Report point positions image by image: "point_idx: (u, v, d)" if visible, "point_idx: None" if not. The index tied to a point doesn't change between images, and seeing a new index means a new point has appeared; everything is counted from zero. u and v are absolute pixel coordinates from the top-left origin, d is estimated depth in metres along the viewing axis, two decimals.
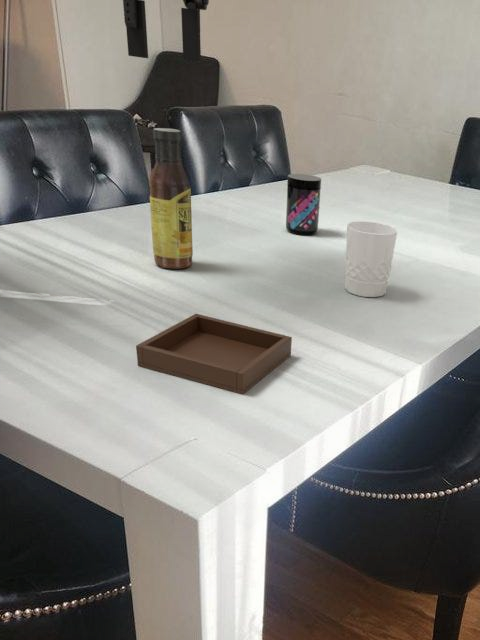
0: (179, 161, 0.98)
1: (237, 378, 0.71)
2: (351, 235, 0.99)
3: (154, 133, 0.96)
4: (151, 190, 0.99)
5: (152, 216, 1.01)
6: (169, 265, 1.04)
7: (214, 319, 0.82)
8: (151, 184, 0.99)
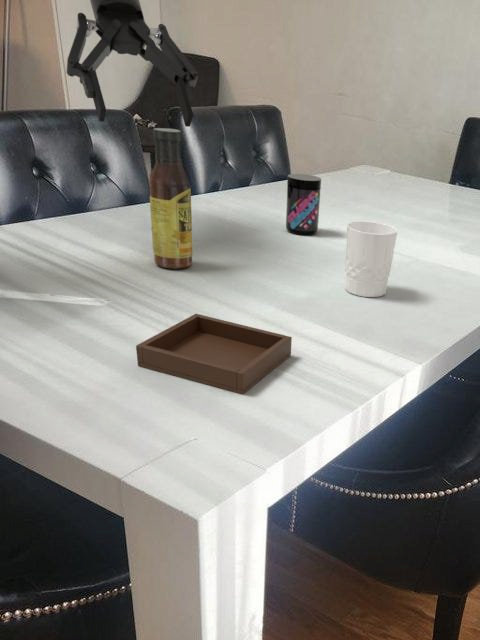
0: (179, 161, 0.98)
1: (237, 378, 0.71)
2: (351, 235, 0.99)
3: (154, 133, 0.96)
4: (151, 190, 0.99)
5: (152, 216, 1.01)
6: (169, 265, 1.04)
7: (214, 319, 0.82)
8: (151, 184, 0.99)
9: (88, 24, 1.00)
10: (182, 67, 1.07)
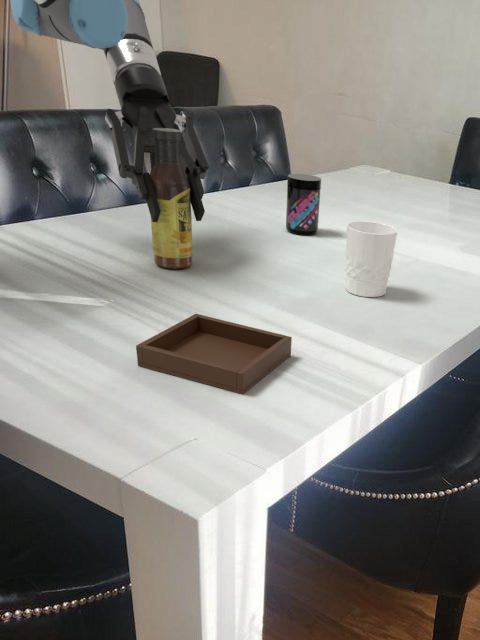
0: (178, 161, 0.98)
1: (237, 378, 0.71)
2: (351, 235, 0.99)
3: (153, 133, 0.95)
4: None
5: None
6: (169, 265, 1.04)
7: (214, 319, 0.82)
8: None
9: (119, 118, 0.98)
10: (195, 157, 1.03)
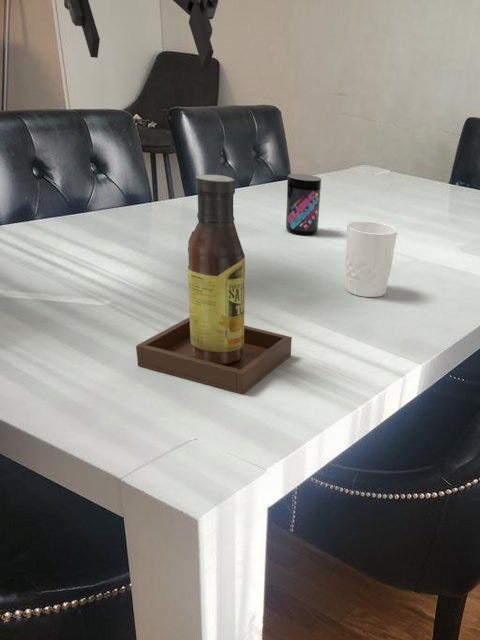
0: (231, 221, 0.69)
1: (237, 378, 0.71)
2: (351, 235, 0.99)
3: (197, 183, 0.67)
4: (191, 261, 0.70)
5: (191, 296, 0.72)
6: (213, 361, 0.75)
7: None
8: (191, 253, 0.69)
9: None
10: None
